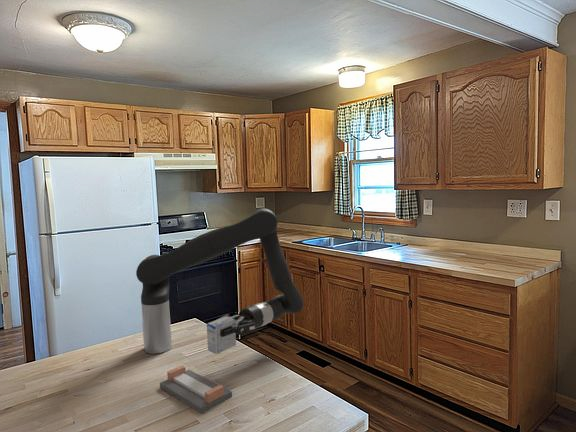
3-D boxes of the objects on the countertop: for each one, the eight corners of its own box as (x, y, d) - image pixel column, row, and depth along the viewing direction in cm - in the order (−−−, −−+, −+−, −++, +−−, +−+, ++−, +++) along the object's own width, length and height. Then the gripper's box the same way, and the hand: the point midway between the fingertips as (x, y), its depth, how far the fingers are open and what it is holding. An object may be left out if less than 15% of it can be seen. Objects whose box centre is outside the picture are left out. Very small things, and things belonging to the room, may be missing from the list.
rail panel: (160, 387, 114) (159, 374, 114) (189, 374, 121) (188, 362, 121) (201, 413, 101) (200, 399, 100) (231, 396, 108) (231, 382, 108)
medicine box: (226, 342, 126) (225, 315, 126) (236, 345, 124) (235, 318, 123) (207, 351, 120) (206, 323, 120) (217, 354, 118) (215, 326, 117)
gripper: (241, 300, 137) (200, 314, 124) (271, 309, 127) (230, 325, 115) (242, 321, 137) (201, 337, 125) (272, 332, 128) (231, 350, 115)
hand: (215, 331), depth 120 cm, fingers closed on medicine box, 4 cm apart
